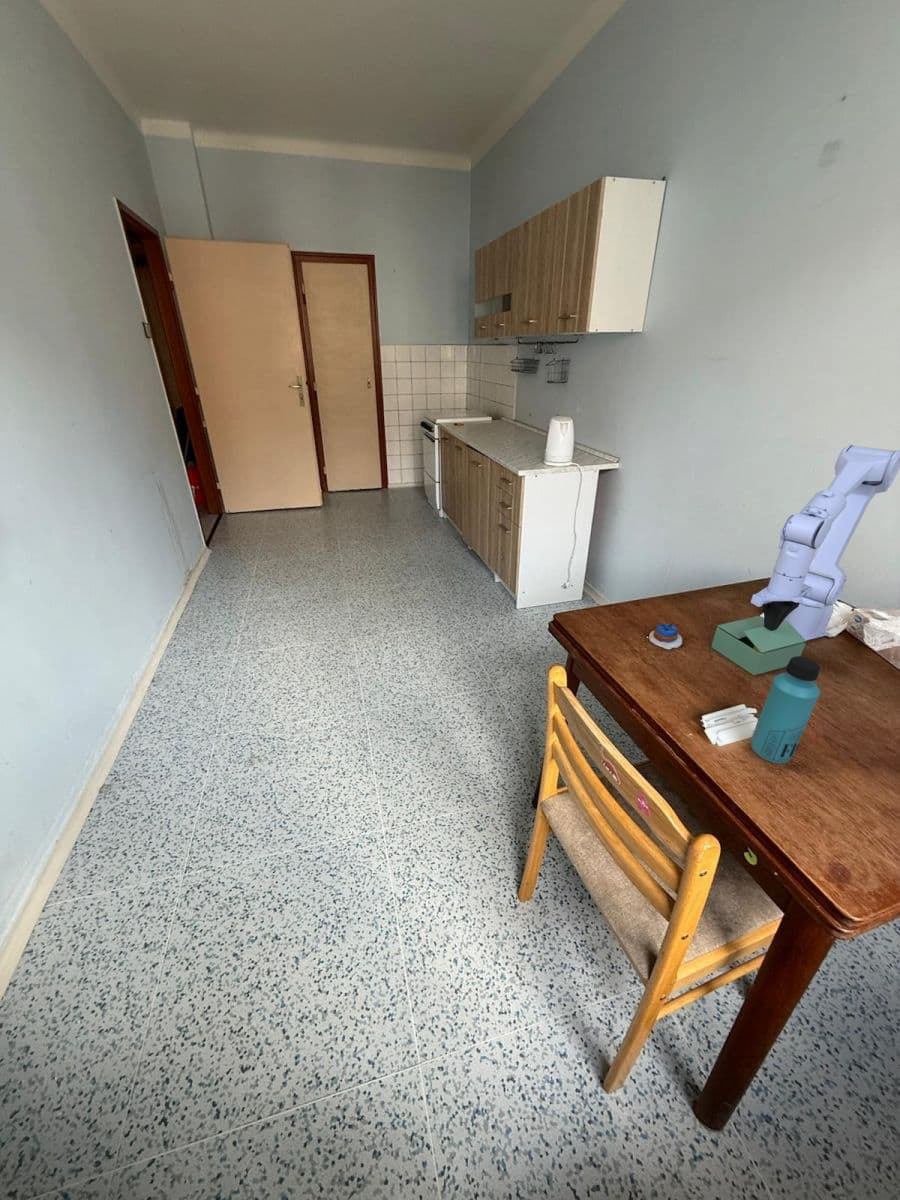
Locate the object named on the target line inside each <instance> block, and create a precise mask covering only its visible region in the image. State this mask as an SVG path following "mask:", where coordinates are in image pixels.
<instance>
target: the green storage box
mask: <svg viewBox="0 0 900 1200" xmlns="http://www.w3.org/2000/svg"><path fill="white" fill-rule="evenodd" d="M763 626H764V616H762V615H757V616H752V617H748V618H744V619H739V620H735V621H729V622H725V623H721V624H717V627H716V629H715V632H714V636H713V640H712V643H711V648H712V649H713V650H715V651H716V652H718V653H719V654H721V655H722V656H724V657H726V658H727V659H729V660H730V661H731V662H733V663H734V664H736V665H737V666H738V667H740V668H742V669H743V670H744V671H746V672H748V673H749V674H751V675H752V676H757V675H761V674H765V673H769V672H772V671H775V670H779V669H783V668H786V667H787V665H788V663H789V661H790V659H791V658H793V657H796V656H800V657H802V653H803V651H804V649H805V646H806V643H805V642H802V643H798V644H794V645H790V646H786V647H783V648H781V649H778V650H774V651H770V652H766V653H762V654H760V653H759V652H757V651H756V650H754V649H753V647H754V644H753V643H752V642H751V640H750V639H749V638H748V637H747V636H746V635H745V634H744V633H743V631H746V630H751V629H755V628H759V627H763Z"/></svg>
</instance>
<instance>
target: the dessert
mask: <svg viewBox="0 0 900 1200" xmlns="http://www.w3.org/2000/svg"><path fill="white" fill-rule="evenodd" d="M648 639H649V642H651V643H652V644H653V645H655V646H657V647H661V648H663V649H666V650H671V649H673V648H674V649H678V648H679V647H680V646H682V644H683V637H682V636H681V634H679V629H678V628H677V627H676V625H674V624H673V623H660V624H658V625H657V626H656V627H655V628H654V630H652V631H650V633H649V635H648Z"/></svg>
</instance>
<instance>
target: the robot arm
mask: <svg viewBox="0 0 900 1200" xmlns="http://www.w3.org/2000/svg"><path fill="white" fill-rule="evenodd" d="M899 471H900V449H897V450H893V449H884V448H878V447H877V448H875V447H867V446H858V445H853V444H848V445H847V446H845V447H843V449H842V450H841V451H840V452H839V454H838V456H837V458H836V461H835V463H834V474H835V477H834V478H833V479H832V481H831V483H830V484H829V485H828V487H827V488H826V489H822V490H819V491H818V492H816V493H815V494H814V495H813V497H811V499H810V500H809V501H808V502H807V503H806V504H805V506H803V508H802V509H801V510H800V511H799V512H797V513H795V514H791V515H789V516H788V517H787V519H786V520H785V521H784V523H783V526H782V528H781V531H780V537H779V538H780V541H779V544H778V549H780V550H779V552H778V556H777V559H776V562H775V565H774V566H773V567H774V568H773V570H772V574H771V577H770V579H769V582H768V584H767V585H768V586H766V587H764V588H763V589H761V590H760V591H758V592H757V593H754V594H752V597H751V599H750V603H751V605H754V606H756V607H758V608H760V607H762V610H763V618H764V627H765V628H767V629H769V630H771V631H774V630H777V628H778V627H779V626H780V625H781V623H782V622H784V621H788V622H789V623H790V624H791V625H792V626H793V627H794V628H795V629H796V630H797V631H798V632H799V633H800V634H801V636H802V637H803V638H804V639H805V640H806V642H807V641H811V640H814V639H818V638H822V637H826V636H828V635H829V632H827V631H826V630H827V627H828V625H829V623H830V620H831V618H832V615H833V613H834V605H835V604H836V603H837V602H838V600H839V598H840V597H841V595H842V593H843V591H844V588H845V585H846V582H847V579H848V576H847V574H846V572H845V571H844V570H843V568H842V567H841V566H840V564H839V563H840V562H841V559H842V557H843V555H844V553H845V551H846V549H847V547H848V545H849V543H850V541H851V540H852V537H853V535H854V533H855V532H856V529H857V527H858V525H859V524H860V522H861V519H862V518H863V515H864V514H865V512H866V509H867V508H868V506H869V504H870V502H871V501H872V500H873V498H874V497H875V496H876V494H881V493H886V492H887V491H888V489H889V488H890V487H891V486H892V484H893V483H894V480H895V479H896V477H897V475H898V473H899ZM811 571H812V572H811ZM815 572H816V573H815ZM822 574H823V575H822ZM825 575H826V576H825ZM829 576H830V577H829ZM825 629H826V630H825Z"/></svg>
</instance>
